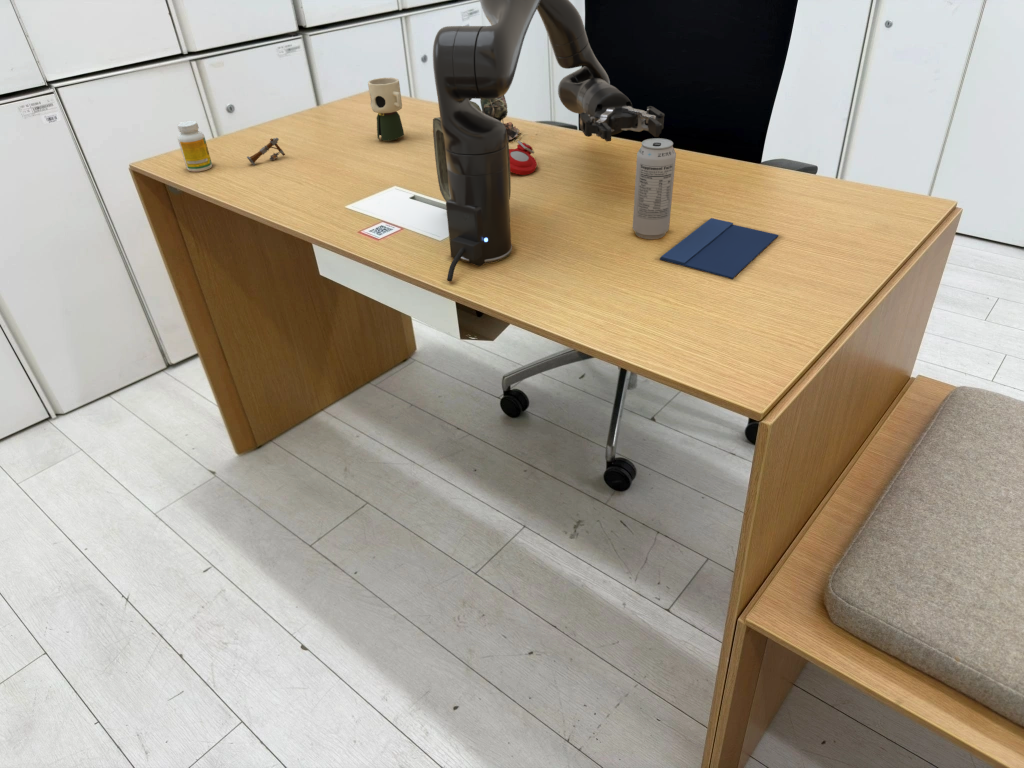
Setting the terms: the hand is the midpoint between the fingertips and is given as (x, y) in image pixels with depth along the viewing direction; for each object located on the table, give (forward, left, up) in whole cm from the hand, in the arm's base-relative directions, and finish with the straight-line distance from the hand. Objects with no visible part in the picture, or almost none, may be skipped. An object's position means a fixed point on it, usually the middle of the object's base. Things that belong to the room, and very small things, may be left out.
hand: (633, 133), depth 120 cm
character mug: (+7, +69, -14) cm, 70 cm away
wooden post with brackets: (-19, +82, -14) cm, 85 cm away
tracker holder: (+7, +31, -14) cm, 34 cm away
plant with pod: (+21, +47, -14) cm, 53 cm away
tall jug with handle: (-20, +20, -14) cm, 31 cm away
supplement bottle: (-30, +91, -14) cm, 96 cm away
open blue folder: (-7, -20, -13) cm, 25 cm away
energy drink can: (-8, -8, -14) cm, 18 cm away
